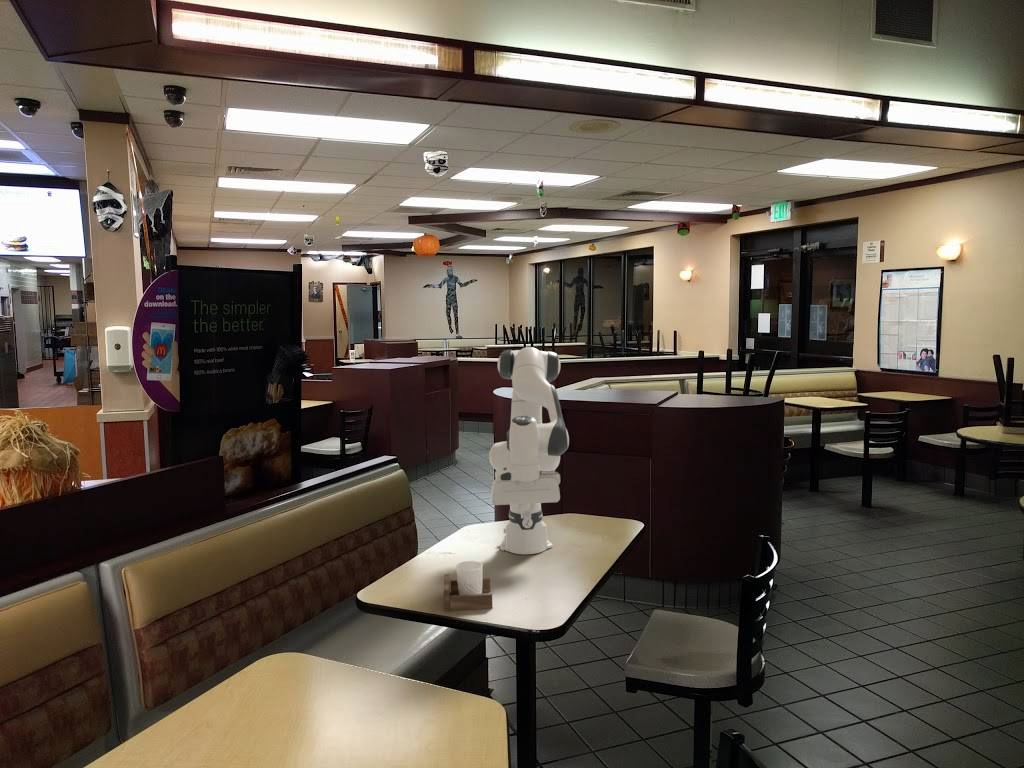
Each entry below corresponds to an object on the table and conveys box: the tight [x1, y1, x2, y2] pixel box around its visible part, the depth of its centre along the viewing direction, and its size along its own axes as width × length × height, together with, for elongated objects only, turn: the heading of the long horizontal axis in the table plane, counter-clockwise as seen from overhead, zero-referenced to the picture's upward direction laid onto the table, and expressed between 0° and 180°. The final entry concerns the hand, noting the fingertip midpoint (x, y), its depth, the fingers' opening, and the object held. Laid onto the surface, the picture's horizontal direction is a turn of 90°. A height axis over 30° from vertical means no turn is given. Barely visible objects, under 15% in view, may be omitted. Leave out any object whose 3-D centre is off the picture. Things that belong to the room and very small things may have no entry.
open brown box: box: [443, 573, 494, 612], centre depth 199 cm, size 13×14×6 cm
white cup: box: [455, 560, 484, 595], centre depth 201 cm, size 8×8×10 cm
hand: (526, 517), depth 200 cm, fingers closed
